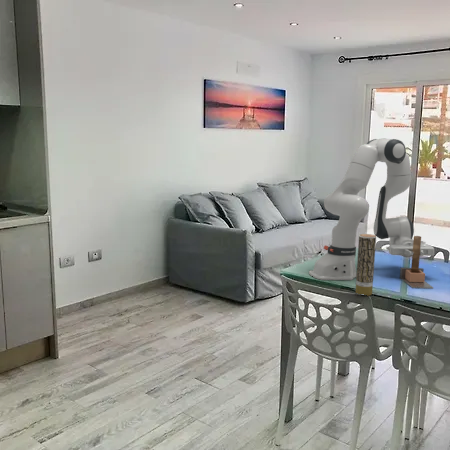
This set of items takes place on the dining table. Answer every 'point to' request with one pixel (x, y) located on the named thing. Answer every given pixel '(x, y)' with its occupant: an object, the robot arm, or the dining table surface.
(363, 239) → the bark textured cylinder
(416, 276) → the collar
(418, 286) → the rail
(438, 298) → the dining table surface
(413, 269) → the dowel
